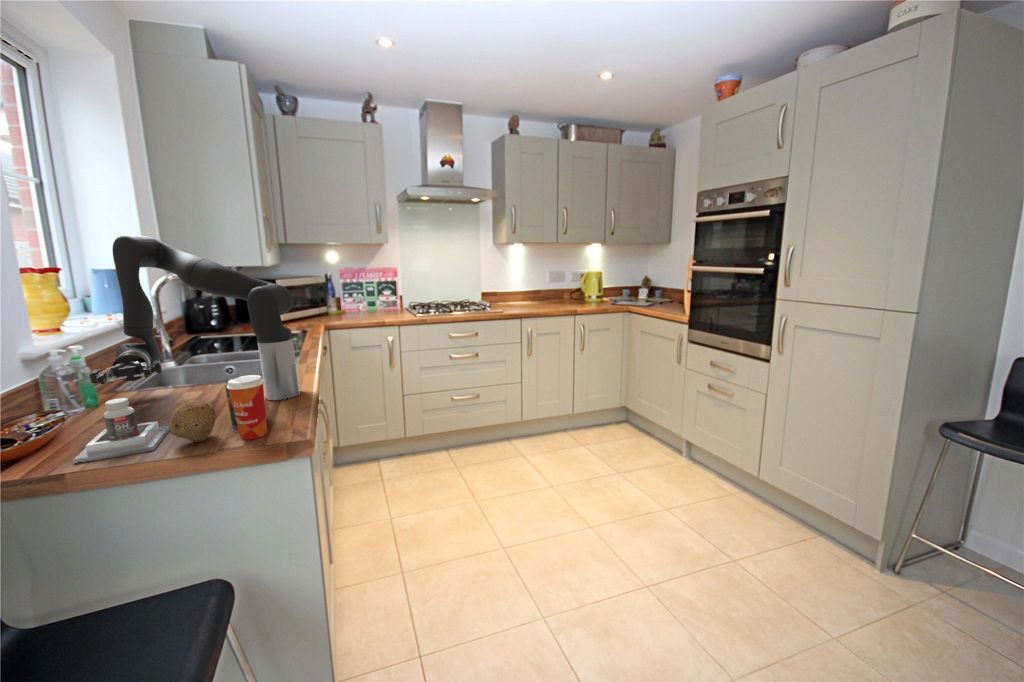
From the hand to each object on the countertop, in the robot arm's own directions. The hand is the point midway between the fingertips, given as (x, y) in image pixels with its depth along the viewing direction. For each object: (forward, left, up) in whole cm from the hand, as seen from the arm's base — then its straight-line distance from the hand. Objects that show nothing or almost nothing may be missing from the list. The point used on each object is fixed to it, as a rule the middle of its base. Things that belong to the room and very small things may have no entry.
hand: (124, 376), depth 114 cm
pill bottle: (-1, +12, -13) cm, 17 cm away
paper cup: (-29, +20, -14) cm, 37 cm away
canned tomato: (-27, +10, -14) cm, 32 cm away
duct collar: (-2, +12, -14) cm, 18 cm away
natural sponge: (-17, +18, -14) cm, 28 cm away
